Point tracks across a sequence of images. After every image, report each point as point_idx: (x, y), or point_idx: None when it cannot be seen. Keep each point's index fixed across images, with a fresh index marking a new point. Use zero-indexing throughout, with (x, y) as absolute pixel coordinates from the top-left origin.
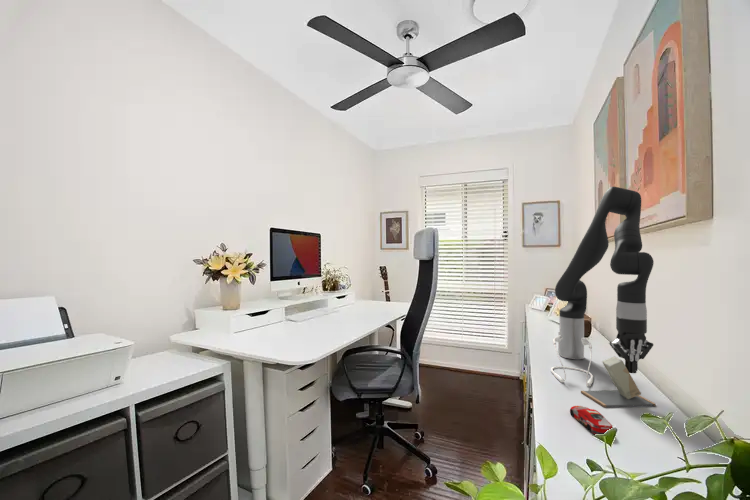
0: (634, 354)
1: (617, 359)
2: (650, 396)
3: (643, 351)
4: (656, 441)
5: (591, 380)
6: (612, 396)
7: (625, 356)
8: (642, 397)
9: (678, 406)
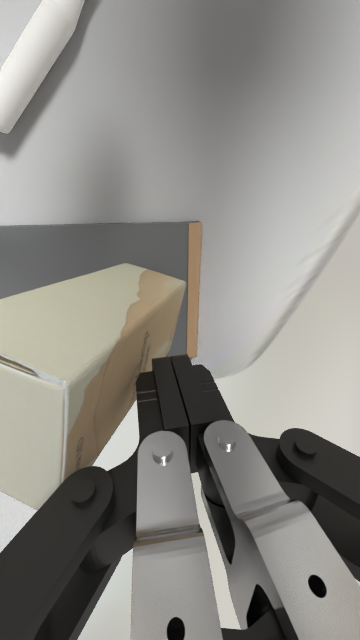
0: (223, 547)
1: (40, 468)
2: (253, 272)
3: (352, 565)
4: (34, 511)
5: (46, 48)
6: None
7: (88, 567)
8: (193, 309)
9: (267, 347)
